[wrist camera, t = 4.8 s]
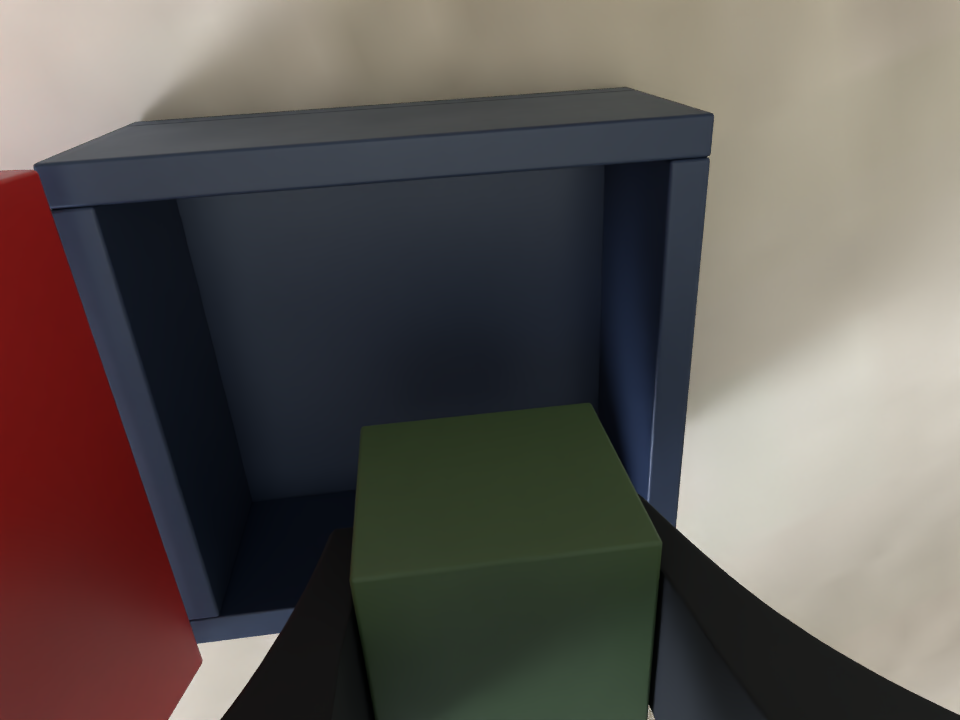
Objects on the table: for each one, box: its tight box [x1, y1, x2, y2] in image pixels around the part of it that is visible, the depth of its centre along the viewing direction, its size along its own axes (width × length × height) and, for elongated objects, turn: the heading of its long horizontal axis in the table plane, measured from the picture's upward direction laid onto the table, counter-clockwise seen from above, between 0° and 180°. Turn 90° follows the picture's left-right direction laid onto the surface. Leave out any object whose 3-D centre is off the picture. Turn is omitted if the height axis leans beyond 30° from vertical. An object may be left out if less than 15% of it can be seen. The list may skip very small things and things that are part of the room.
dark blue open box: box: [34, 87, 714, 644], centre depth 17 cm, size 12×12×5 cm
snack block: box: [349, 403, 662, 720], centre depth 12 cm, size 4×4×4 cm
